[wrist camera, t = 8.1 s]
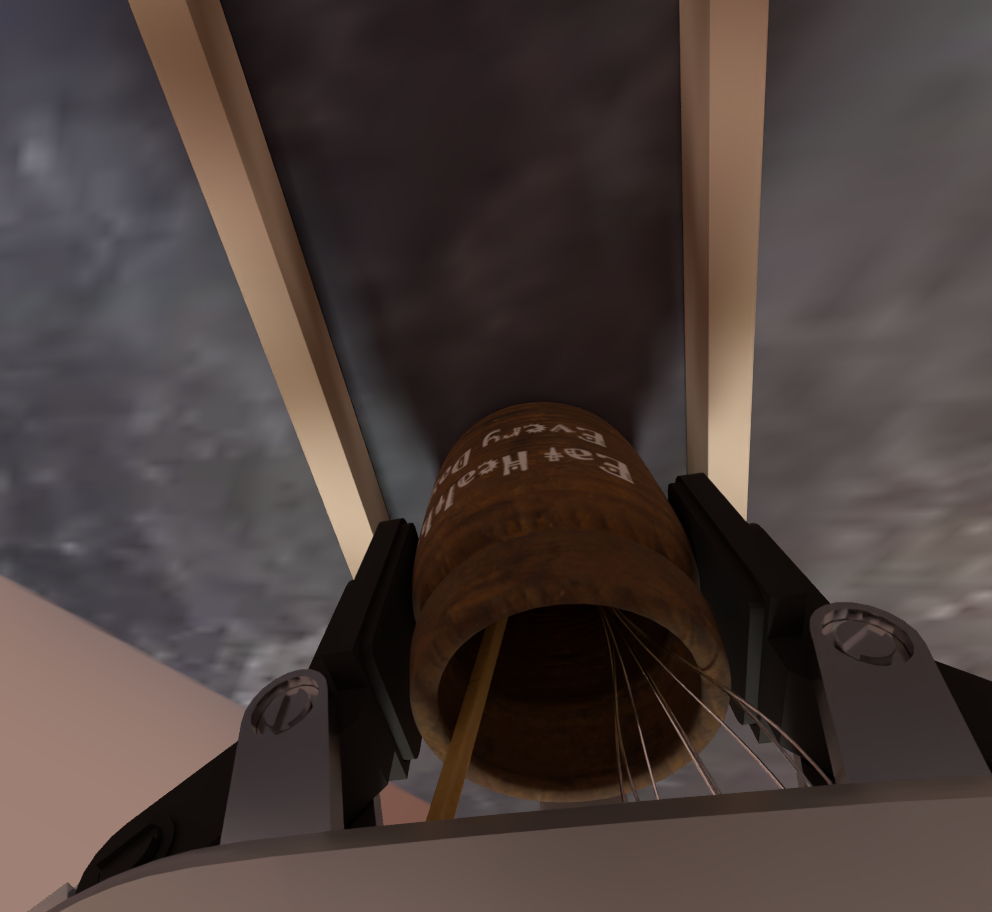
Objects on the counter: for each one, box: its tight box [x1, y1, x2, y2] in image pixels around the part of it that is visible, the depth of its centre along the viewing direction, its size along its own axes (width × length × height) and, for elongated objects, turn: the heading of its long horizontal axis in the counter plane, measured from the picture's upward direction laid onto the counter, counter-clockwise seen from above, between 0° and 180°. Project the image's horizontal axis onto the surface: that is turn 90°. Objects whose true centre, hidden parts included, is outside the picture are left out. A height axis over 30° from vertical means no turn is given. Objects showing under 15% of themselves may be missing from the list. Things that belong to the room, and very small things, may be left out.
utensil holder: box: [410, 402, 835, 821], centre depth 8 cm, size 6×6×12 cm
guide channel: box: [128, 0, 769, 811], centre depth 10 cm, size 25×11×6 cm, turn 11°
